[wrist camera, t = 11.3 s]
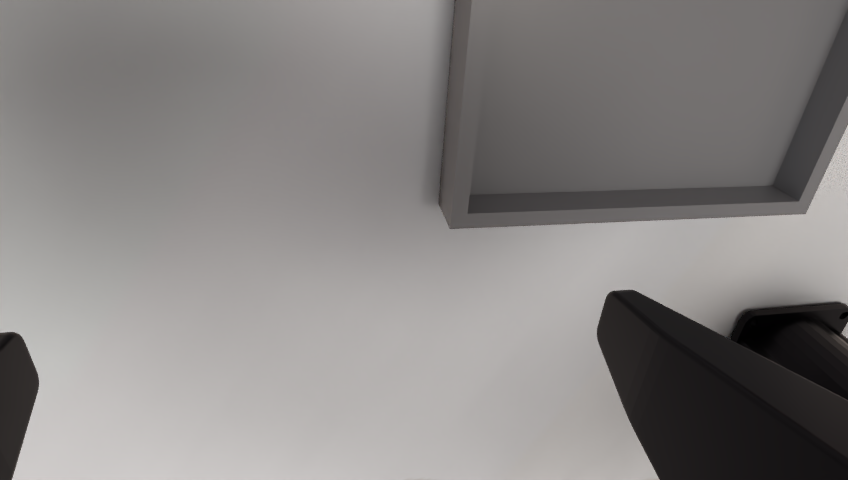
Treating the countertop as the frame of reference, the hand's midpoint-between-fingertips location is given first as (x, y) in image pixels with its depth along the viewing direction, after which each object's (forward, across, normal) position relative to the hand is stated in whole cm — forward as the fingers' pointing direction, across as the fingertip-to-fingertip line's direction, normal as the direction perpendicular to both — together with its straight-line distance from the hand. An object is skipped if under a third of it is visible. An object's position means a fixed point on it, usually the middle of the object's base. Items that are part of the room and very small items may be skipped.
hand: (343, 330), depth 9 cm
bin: (+12, -12, -1) cm, 17 cm away
